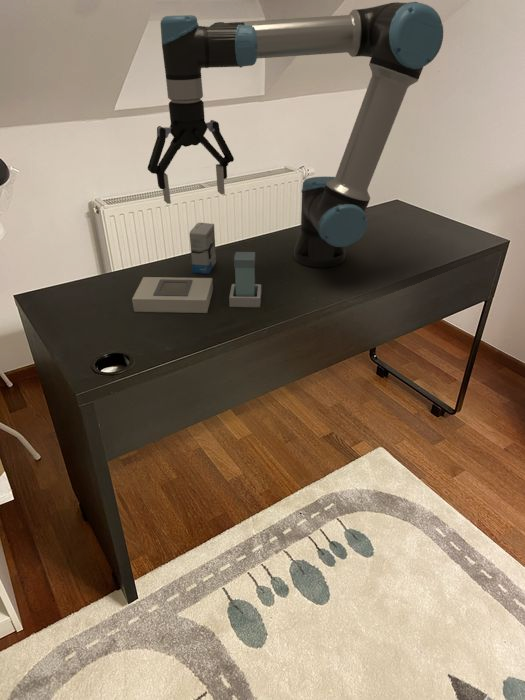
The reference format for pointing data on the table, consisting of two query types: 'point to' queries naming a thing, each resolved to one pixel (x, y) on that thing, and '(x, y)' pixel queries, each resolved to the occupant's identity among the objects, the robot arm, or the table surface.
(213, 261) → the ink box
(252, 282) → the plug
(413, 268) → the table surface
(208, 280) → the port
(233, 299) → the grey square frame
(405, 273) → the table surface
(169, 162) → the robot arm
